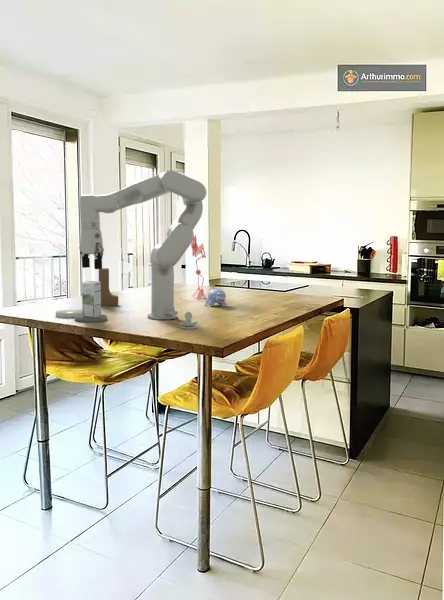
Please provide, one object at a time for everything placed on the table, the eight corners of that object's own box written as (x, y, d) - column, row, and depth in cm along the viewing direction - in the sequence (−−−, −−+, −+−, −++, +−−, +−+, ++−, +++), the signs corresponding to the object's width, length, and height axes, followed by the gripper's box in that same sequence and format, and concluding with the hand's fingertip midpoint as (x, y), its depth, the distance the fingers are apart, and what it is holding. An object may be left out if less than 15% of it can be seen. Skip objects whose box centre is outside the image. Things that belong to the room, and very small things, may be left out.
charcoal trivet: (113, 321, 221) (113, 316, 221) (89, 325, 211) (89, 320, 210) (92, 317, 229) (92, 312, 228) (68, 321, 218) (68, 316, 218)
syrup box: (101, 315, 221) (101, 281, 219) (94, 318, 215) (93, 282, 213) (89, 314, 223) (88, 280, 221) (82, 317, 217) (81, 281, 215)
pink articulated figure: (202, 295, 303) (202, 233, 298) (211, 302, 278) (210, 235, 273) (175, 296, 300) (174, 234, 295) (182, 303, 275) (181, 235, 270)
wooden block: (118, 304, 262) (118, 268, 260) (117, 306, 258) (117, 269, 255) (99, 304, 261) (99, 268, 259) (98, 305, 257) (98, 268, 254)
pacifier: (198, 329, 205) (196, 326, 211) (198, 314, 204) (197, 311, 209) (179, 330, 204) (178, 326, 209) (179, 314, 202) (178, 311, 208)
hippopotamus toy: (210, 309, 256) (211, 289, 255) (202, 304, 270) (202, 285, 269) (231, 308, 259) (232, 289, 258) (222, 303, 273) (223, 285, 272)
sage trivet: (89, 317, 228) (89, 312, 228) (64, 319, 220) (63, 315, 219) (76, 313, 237) (76, 308, 236) (50, 315, 228) (50, 311, 228)
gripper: (110, 225, 211) (111, 268, 213) (87, 225, 223) (89, 266, 225) (93, 226, 205) (94, 270, 208) (71, 226, 218) (73, 267, 220)
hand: (92, 268), depth 217 cm, fingers open, 9 cm apart
